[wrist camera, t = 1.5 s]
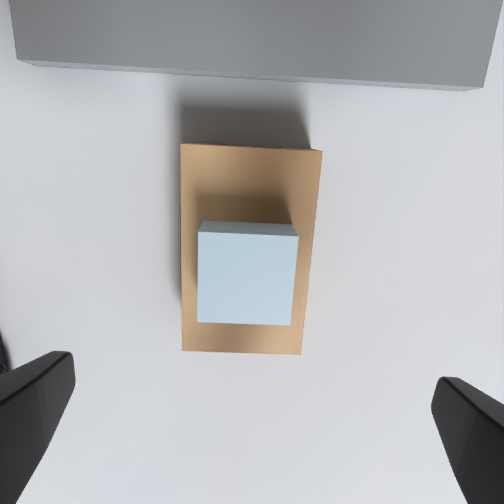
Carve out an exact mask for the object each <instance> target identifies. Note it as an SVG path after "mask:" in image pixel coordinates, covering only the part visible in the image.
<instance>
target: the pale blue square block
mask: <svg viewBox="0 0 504 504" xmlns="http://www.w3.org/2000/svg"><path fill="white" fill-rule="evenodd" d="M298 238H299V236H298V234H297V232H296V230H295V228H294V226H293V225H292V224H271V223H249V222H228V221H207V220H203V222H202V224H201V226H200V229H199V231H198V299H197V322H208V323H235V324H261V325H288V326H290V323H291V312H292V302H293V291H294V281H295V270H296V259H297V249H298Z"/></svg>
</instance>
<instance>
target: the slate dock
mask: <svg viewBox="0 0 504 504" xmlns="http://www.w3.org/2000/svg"><path fill="white" fill-rule="evenodd" d="M502 2H503V0H9V3H10V10H11V18H12V25H13V33H14V40H15V48H16V56H17V60H20V61H23V62H26V63H29V64H32V65H35V66H48V67H65V68H82V69H98V70H115V71H132V72H149V73H165V74H182V75H199V76H216V77H232V78H249V79H266V80H283V81H299V82H316V83H333V84H350V85H367V86H383V87H400V88H417V89H434V90H450V91H468V90H473V89H478V88H483V86H484V81H485V77H486V72H487V68H488V64H489V59H490V55H491V51H492V46H493V42H494V37H495V33H496V29H497V24H498V20H499V15H500V11H501V7H502Z"/></svg>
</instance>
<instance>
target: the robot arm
mask: <svg viewBox="0 0 504 504" xmlns="http://www.w3.org/2000/svg"><path fill="white" fill-rule="evenodd" d="M74 387H75V370H74V361H73V355H72V354H71V353H70V352H67V351H52V352H50V353H48V354H46V355H43V356H41V357H39V358H37V359H35V360H33V361H31V362H29V363H27V364H24V365H22V366H20V367H18V368H16V369H14V370H12V371H10V372H8V373H7V368H6V366H5V360H4V355H3V349H2V344H1V338H0V504H16V502H17V500H18V499H19V497H20V495H21V494H22V492H23V490H24V488H25V487H26V485H27V483H28V481H29V480H30V478H31V476H32V474H33V473H34V471H35V469H36V468H37V466H38V464H39V462H40V461H41V459H42V457H43V455H44V453H45V452H46V450H47V448H48V446H49V443H50V441H51V439H52V437H53V435H54V433H55V430H56V428H57V426H58V424H59V421H60V419H61V417H62V415H63V413H64V410H65V408H66V406H67V404H68V401H69V399H70V397H71V395H72V393H73V390H74ZM431 411H432V415H433V418H434V420H435V423H436V426H437V429H438V431H439V434H440V437H441V440H442V443H443V445H444V448H445V451H446V454H447V456H448V459H449V462H450V465H451V467H452V470H453V472H454V475H455V477H456V479H457V482H458V484H459V486H460V488H461V490H462V493H463V495H464V497H465V499H466V501H467V503H468V504H504V404H502V403H500V402H498V401H497V400H495V399H493V398H492V397H490V396H488V395H487V394H485V393H483V392H482V391H480V390H478V389H477V388H475V387H473V386H472V385H470V384H468V383H467V382H465V381H463V380H461V379H460V378H457V377H441V378H439V380H438V382H437V385H436V389H435V392H434V396H433V399H432V403H431Z"/></svg>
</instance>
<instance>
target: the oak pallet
mask: <svg viewBox="0 0 504 504" xmlns="http://www.w3.org/2000/svg"><path fill="white" fill-rule="evenodd" d="M322 152H323V151H319V150H315V149H308V148H290V147H281V148H265V147H247V146H228V145H220V144H215V143H196V142H188V143H182V144H180V163H181V284H182V351H204V352H233V353H262V354H291V355H301V346H302V337H303V328H304V319H305V309H306V300H307V291H308V281H309V272H310V263H311V254H312V244H313V235H314V226H315V217H316V207H317V198H318V189H319V179H320V170H321V161H322ZM203 220H207V221H228V222H249V223H271V224H292V225H293V226H294V228H295V230H296V232H297V234H298V236H299V238H298V249H297V259H296V270H295V281H294V291H293V302H292V312H291V323H290V326H288V325H261V324H235V323H208V322H197V299H198V231H199V229H200V226H201V224H202V222H203Z"/></svg>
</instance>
